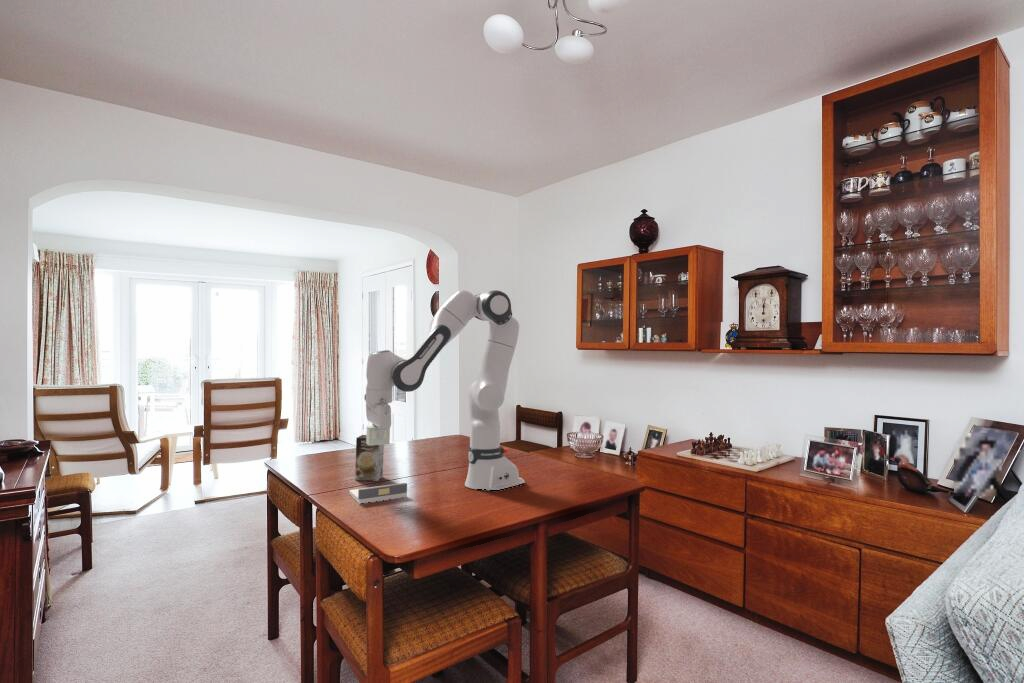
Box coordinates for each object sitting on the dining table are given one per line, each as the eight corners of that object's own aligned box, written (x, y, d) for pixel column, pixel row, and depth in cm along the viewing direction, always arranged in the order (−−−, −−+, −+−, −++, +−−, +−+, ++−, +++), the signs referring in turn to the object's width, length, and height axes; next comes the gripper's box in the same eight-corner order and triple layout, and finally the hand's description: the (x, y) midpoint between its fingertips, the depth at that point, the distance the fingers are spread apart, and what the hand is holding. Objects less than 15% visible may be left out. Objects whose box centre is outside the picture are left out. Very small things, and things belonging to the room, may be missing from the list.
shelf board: (394, 488, 181) (394, 475, 181) (407, 497, 171) (407, 483, 171) (349, 494, 173) (349, 481, 173) (359, 504, 162) (359, 490, 162)
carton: (366, 443, 175) (366, 426, 175) (386, 442, 178) (386, 424, 178) (368, 445, 171) (369, 427, 171) (389, 444, 174) (389, 426, 174)
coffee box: (354, 480, 191) (355, 437, 191) (360, 476, 197) (361, 434, 197) (377, 481, 190) (378, 438, 190) (383, 477, 196) (384, 435, 196)
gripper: (396, 400, 167) (395, 442, 167) (380, 394, 185) (380, 432, 185) (377, 400, 164) (376, 443, 164) (363, 394, 182) (362, 433, 182)
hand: (378, 437), depth 174 cm, fingers closed on carton, 4 cm apart
